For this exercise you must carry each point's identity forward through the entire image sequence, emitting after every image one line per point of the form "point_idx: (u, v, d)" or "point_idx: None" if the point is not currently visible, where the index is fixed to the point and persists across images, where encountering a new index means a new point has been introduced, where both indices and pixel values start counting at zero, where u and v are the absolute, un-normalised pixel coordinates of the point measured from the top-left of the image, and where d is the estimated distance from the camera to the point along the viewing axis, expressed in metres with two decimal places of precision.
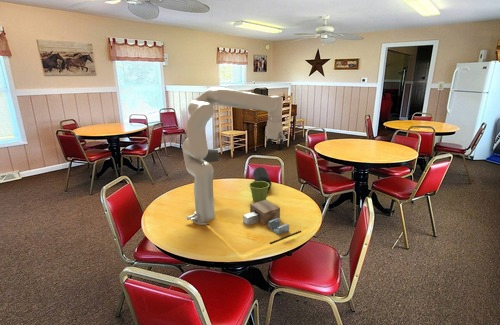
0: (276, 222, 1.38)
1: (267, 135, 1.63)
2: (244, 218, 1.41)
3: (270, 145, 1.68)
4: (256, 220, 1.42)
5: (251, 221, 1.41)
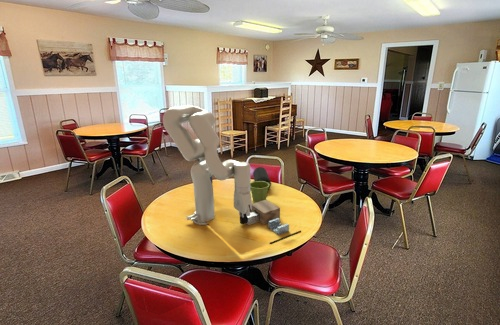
0: (276, 222, 1.38)
1: (235, 206, 1.39)
2: None
3: None
4: (257, 220, 1.43)
5: (252, 220, 1.41)
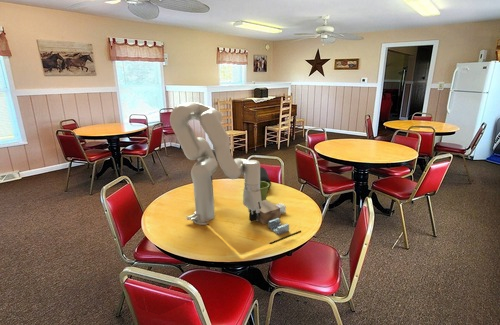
0: (276, 222, 1.38)
1: (244, 203, 1.42)
2: None
3: None
4: None
5: None
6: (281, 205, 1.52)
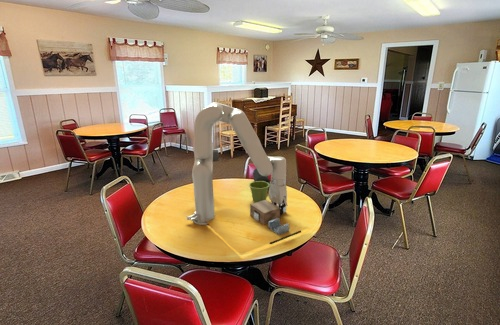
0: (276, 222, 1.38)
1: (270, 197, 1.51)
2: (255, 214, 1.45)
3: None
4: None
5: None
6: None
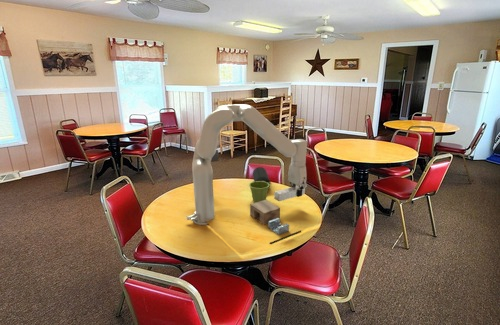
0: (276, 222, 1.38)
1: (289, 179, 1.56)
2: (276, 194, 1.49)
3: None
4: (287, 197, 1.51)
5: (282, 197, 1.49)
6: None
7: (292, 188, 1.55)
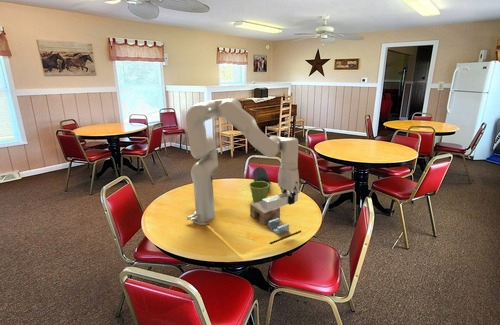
0: (276, 222, 1.38)
1: (279, 184, 1.34)
2: (263, 203, 1.27)
3: None
4: (276, 205, 1.29)
5: (271, 205, 1.27)
6: None
7: (283, 194, 1.33)
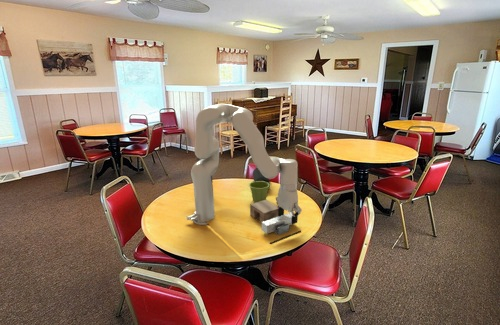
0: None
1: (279, 204, 1.37)
2: (263, 225, 1.31)
3: (282, 213, 1.41)
4: (276, 228, 1.32)
5: (270, 228, 1.30)
6: None
7: (282, 216, 1.37)
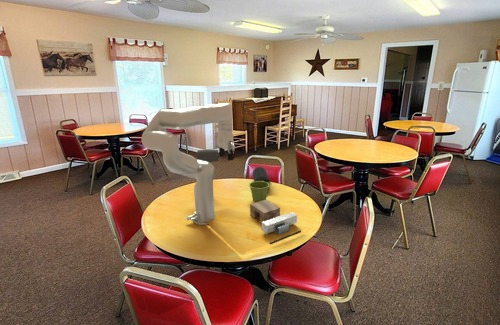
0: None
1: (218, 144, 1.56)
2: (263, 225, 1.31)
3: (223, 154, 1.61)
4: (276, 228, 1.32)
5: (270, 228, 1.30)
6: (292, 214, 1.38)
7: (282, 216, 1.37)
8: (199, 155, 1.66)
